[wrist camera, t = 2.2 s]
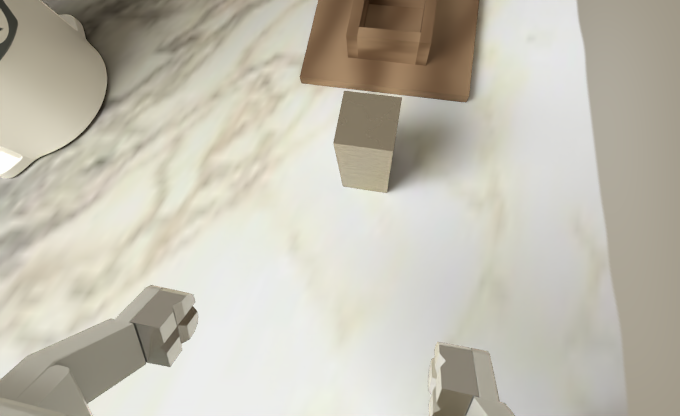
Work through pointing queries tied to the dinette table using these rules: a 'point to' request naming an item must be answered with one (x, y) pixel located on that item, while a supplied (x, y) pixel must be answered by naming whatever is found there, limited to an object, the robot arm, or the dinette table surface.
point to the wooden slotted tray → (393, 47)
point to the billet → (366, 139)
